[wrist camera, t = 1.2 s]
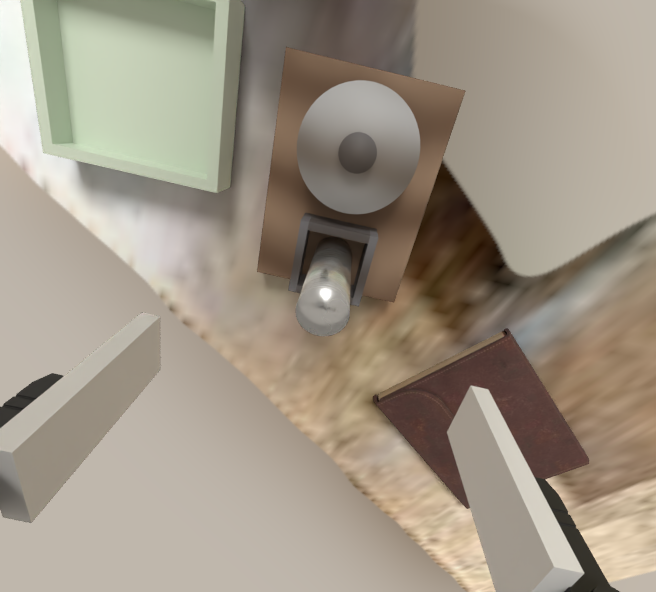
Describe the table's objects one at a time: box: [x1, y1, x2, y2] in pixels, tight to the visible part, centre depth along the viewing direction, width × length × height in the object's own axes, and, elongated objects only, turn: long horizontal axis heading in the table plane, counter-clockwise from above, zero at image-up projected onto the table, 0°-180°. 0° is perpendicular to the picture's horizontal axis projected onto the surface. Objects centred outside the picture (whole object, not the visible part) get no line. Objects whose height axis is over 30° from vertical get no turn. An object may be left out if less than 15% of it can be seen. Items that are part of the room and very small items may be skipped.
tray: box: [20, 0, 245, 193], centre depth 24 cm, size 12×13×3 cm
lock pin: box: [296, 237, 352, 336], centre depth 23 cm, size 3×3×10 cm
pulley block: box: [257, 47, 465, 306], centre depth 25 cm, size 16×12×5 cm
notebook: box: [373, 328, 589, 509], centre depth 37 cm, size 15×20×2 cm
